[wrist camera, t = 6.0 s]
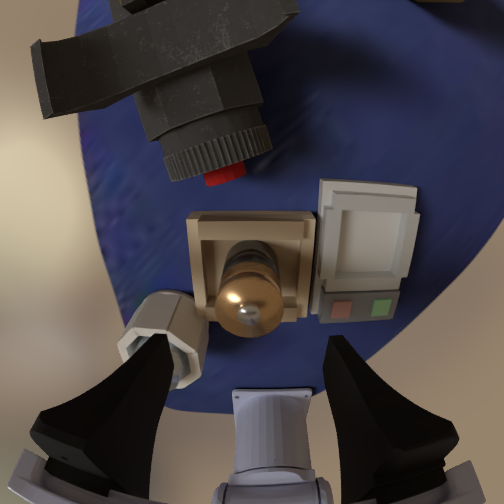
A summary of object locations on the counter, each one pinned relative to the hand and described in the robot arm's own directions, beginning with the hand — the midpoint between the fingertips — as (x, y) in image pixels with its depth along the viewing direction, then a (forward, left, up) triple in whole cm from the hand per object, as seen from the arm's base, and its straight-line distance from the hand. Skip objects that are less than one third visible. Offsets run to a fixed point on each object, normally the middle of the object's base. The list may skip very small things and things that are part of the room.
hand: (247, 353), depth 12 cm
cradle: (+2, -8, -9) cm, 13 cm away
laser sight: (+17, +5, -10) cm, 20 cm away
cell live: (0, 0, -9) cm, 9 cm away
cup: (-5, +7, -9) cm, 13 cm away
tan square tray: (0, 0, -9) cm, 9 cm away
